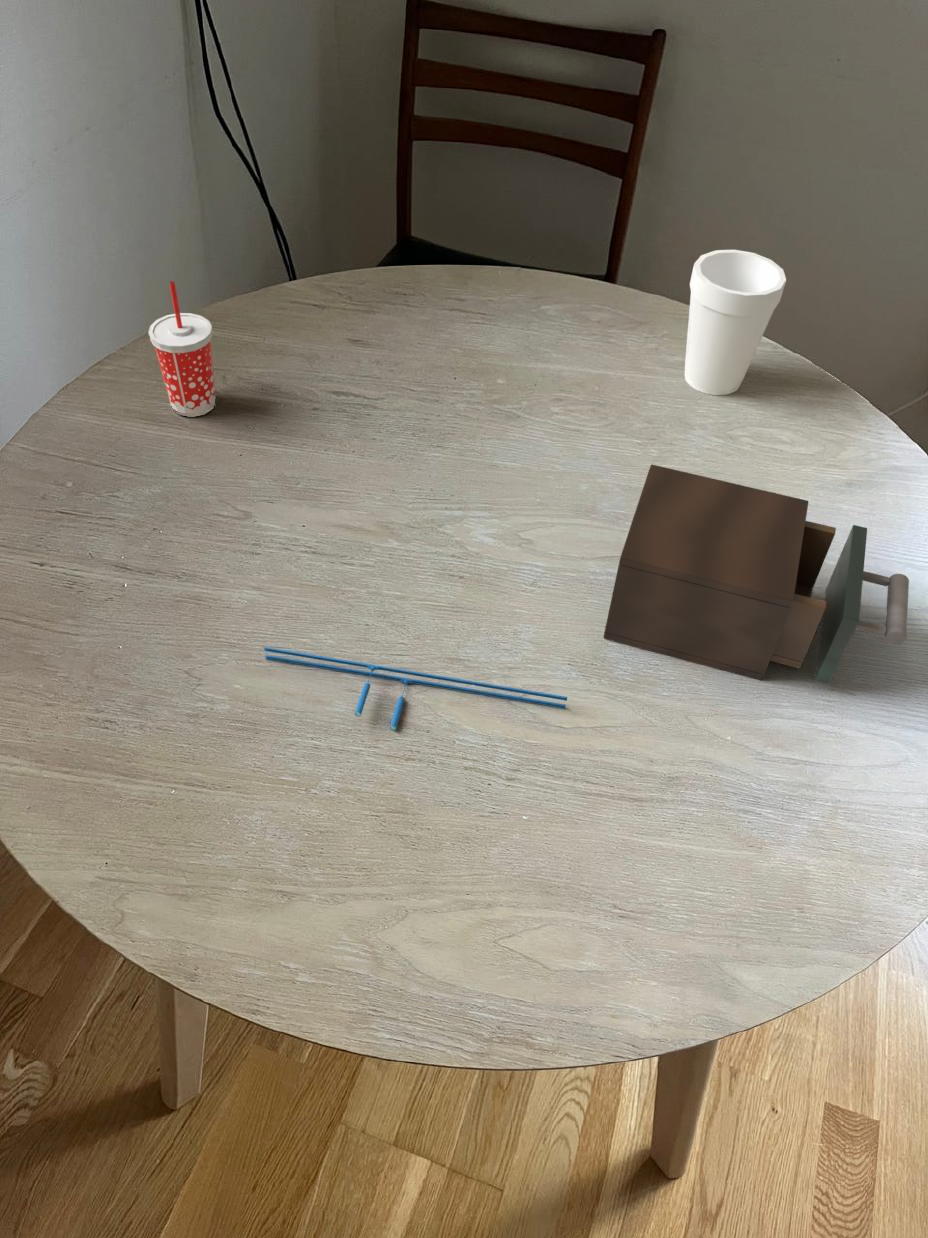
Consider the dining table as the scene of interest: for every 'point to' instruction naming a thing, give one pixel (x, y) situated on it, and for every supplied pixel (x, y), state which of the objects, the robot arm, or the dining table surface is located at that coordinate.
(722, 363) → the foam cup
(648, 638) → the cabinet
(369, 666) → the bar handle
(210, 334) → the beverage cup
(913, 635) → the dining table surface
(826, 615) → the drawer
